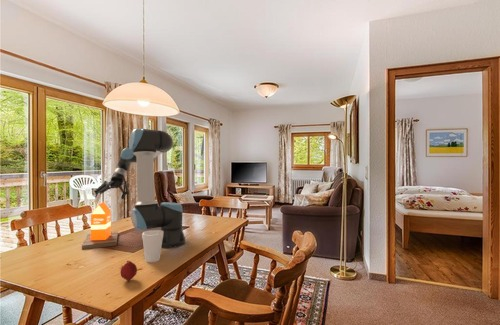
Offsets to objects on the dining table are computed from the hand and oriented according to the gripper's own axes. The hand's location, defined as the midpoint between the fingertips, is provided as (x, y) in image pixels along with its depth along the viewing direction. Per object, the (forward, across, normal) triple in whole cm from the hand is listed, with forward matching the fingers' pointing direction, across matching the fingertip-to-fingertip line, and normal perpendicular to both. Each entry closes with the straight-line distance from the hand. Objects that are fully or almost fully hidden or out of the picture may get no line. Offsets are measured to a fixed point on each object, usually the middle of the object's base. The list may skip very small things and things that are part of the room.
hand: (107, 202), depth 151 cm
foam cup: (+40, -38, +10) cm, 56 cm away
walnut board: (+20, 0, -10) cm, 22 cm away
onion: (+54, -35, +24) cm, 69 cm away
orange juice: (+18, 0, -9) cm, 20 cm away
